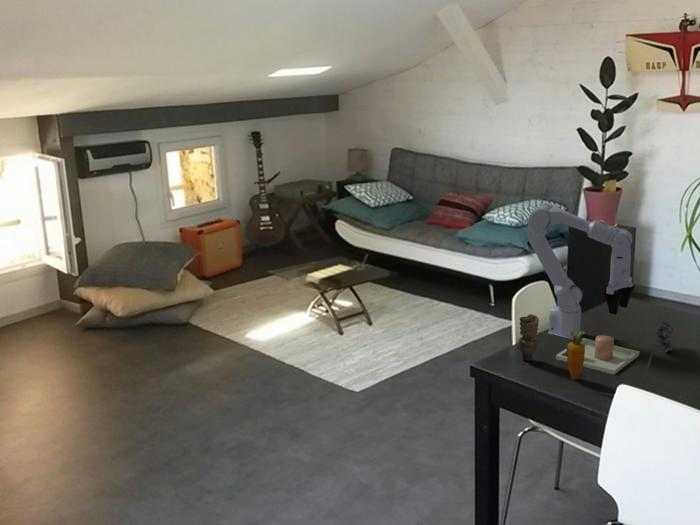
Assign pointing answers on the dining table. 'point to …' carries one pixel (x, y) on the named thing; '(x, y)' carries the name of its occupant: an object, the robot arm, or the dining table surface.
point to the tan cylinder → (604, 347)
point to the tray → (611, 366)
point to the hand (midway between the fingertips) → (618, 310)
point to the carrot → (575, 356)
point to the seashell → (665, 335)
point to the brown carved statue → (528, 336)
